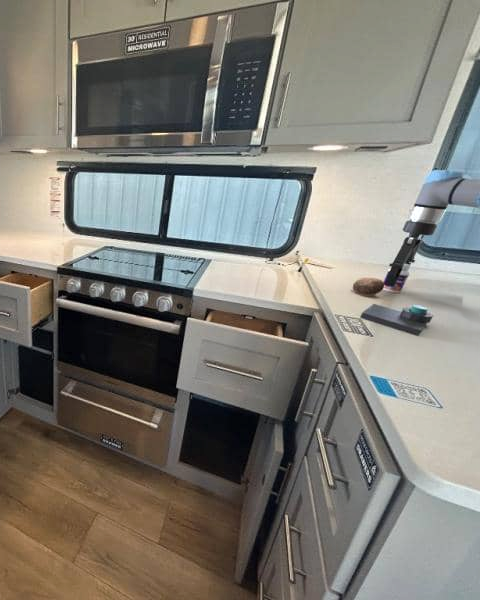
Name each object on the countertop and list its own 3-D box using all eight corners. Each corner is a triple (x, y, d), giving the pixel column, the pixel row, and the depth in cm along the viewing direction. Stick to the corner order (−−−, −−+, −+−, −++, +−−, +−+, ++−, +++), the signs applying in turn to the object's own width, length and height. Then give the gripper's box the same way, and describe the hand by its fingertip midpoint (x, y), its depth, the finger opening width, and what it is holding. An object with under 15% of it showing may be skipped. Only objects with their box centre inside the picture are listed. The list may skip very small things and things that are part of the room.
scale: (428, 325, 90) (434, 313, 88) (420, 337, 83) (426, 324, 81) (371, 308, 99) (376, 297, 97) (359, 318, 91) (364, 306, 90)
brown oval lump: (384, 284, 110) (380, 270, 108) (388, 300, 105) (385, 285, 103) (353, 289, 116) (350, 276, 113) (356, 304, 111) (352, 290, 108)
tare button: (425, 314, 89) (428, 308, 88) (423, 316, 87) (427, 310, 86) (411, 309, 91) (414, 304, 90) (408, 312, 89) (411, 306, 88)
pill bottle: (379, 289, 116) (391, 263, 112) (381, 286, 120) (393, 260, 116) (399, 294, 112) (412, 267, 109) (401, 291, 116) (414, 264, 112)
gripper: (414, 217, 116) (388, 273, 125) (399, 221, 102) (370, 285, 110) (444, 221, 111) (414, 279, 120) (432, 226, 97) (399, 292, 105)
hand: (393, 282), depth 115 cm, fingers open, 13 cm apart
